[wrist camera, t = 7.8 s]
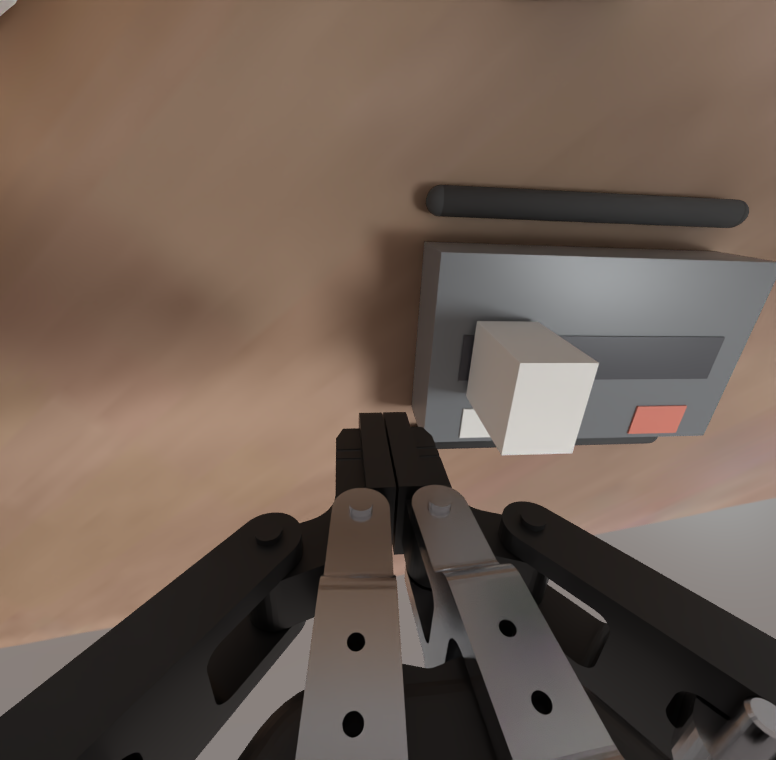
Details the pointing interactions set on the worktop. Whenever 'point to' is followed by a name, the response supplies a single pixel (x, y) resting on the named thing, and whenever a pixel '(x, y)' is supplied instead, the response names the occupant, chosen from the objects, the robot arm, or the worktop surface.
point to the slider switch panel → (581, 210)
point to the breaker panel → (591, 328)
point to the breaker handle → (528, 387)
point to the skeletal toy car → (6, 5)
